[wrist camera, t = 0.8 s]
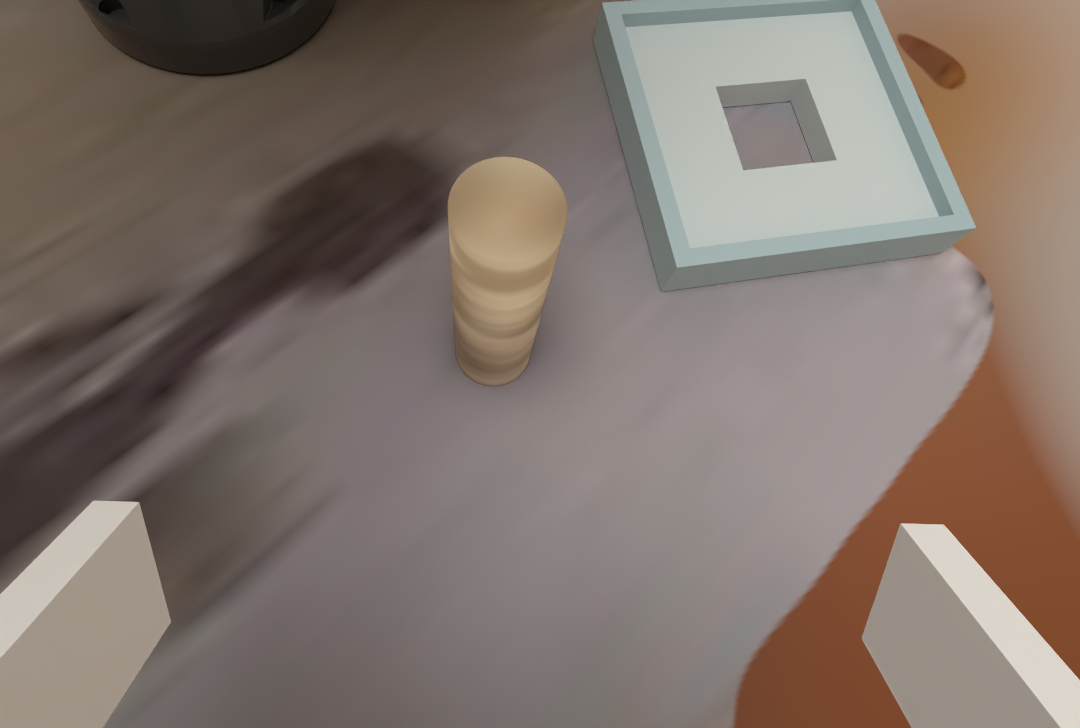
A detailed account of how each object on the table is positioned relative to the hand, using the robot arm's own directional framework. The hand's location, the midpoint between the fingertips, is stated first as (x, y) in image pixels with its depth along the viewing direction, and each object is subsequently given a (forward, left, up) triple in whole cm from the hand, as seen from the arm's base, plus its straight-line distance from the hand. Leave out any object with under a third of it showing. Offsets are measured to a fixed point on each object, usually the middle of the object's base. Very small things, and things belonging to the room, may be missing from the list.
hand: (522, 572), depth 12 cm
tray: (-23, +21, -21) cm, 37 cm away
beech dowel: (-12, +2, -21) cm, 24 cm away
